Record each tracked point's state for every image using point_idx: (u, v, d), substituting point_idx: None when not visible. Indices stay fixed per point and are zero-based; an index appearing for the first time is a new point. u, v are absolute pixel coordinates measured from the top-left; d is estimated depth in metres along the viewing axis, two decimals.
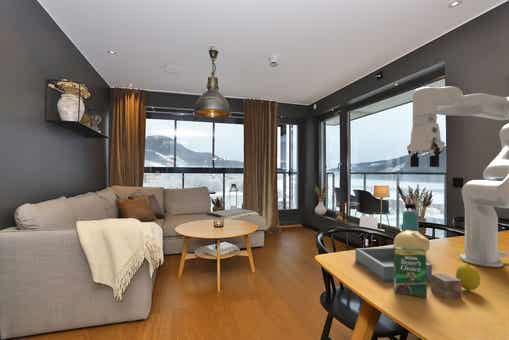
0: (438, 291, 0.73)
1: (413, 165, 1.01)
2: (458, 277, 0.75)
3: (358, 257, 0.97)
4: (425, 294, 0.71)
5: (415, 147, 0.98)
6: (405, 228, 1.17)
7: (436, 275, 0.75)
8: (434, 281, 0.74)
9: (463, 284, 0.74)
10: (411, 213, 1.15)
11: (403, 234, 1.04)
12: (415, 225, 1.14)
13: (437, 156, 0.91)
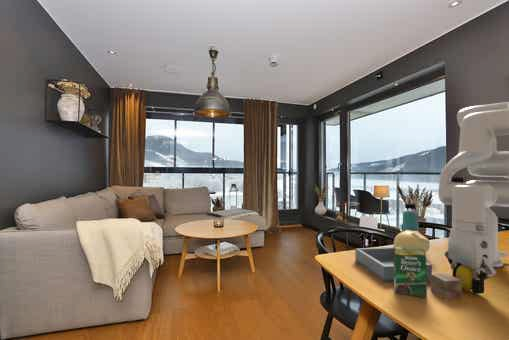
0: (438, 291, 0.73)
1: None
2: (458, 277, 0.75)
3: (358, 257, 0.97)
4: (425, 294, 0.71)
5: (456, 257, 0.77)
6: (405, 228, 1.17)
7: (436, 275, 0.75)
8: (434, 281, 0.74)
9: (463, 284, 0.74)
10: (411, 213, 1.15)
11: (403, 234, 1.04)
12: (415, 225, 1.14)
13: (482, 281, 0.71)
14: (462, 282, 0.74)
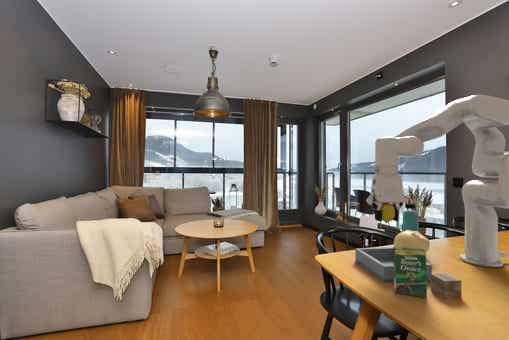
0: (438, 291, 0.73)
1: None
2: None
3: (358, 257, 0.97)
4: (425, 294, 0.71)
5: None
6: (405, 228, 1.17)
7: (436, 275, 0.75)
8: (434, 281, 0.74)
9: None
10: (411, 213, 1.15)
11: (403, 234, 1.04)
12: (415, 225, 1.14)
13: (376, 210, 0.93)
14: None
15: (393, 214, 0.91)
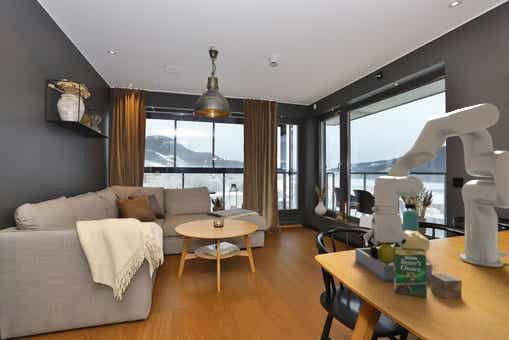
0: (438, 291, 0.73)
1: None
2: None
3: (358, 257, 0.97)
4: (425, 294, 0.71)
5: None
6: (405, 228, 1.17)
7: (436, 275, 0.75)
8: (434, 281, 0.74)
9: None
10: (411, 213, 1.15)
11: None
12: (415, 225, 1.14)
13: (372, 248, 0.93)
14: None
15: None
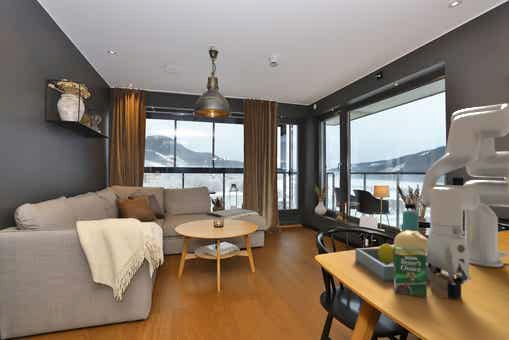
0: (438, 291, 0.73)
1: None
2: None
3: (358, 257, 0.97)
4: (425, 294, 0.71)
5: (434, 261, 0.75)
6: (405, 228, 1.17)
7: (436, 275, 0.75)
8: (434, 281, 0.74)
9: None
10: (411, 213, 1.15)
11: (403, 234, 1.04)
12: (415, 225, 1.14)
13: (458, 286, 0.70)
14: None
15: (393, 257, 0.91)
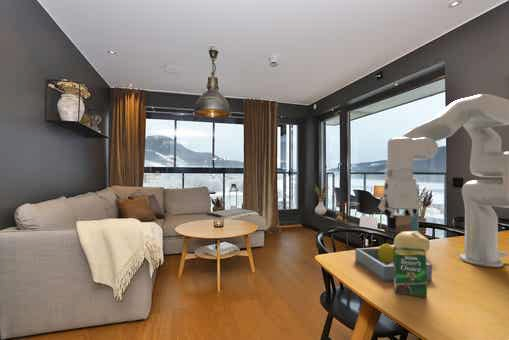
0: None
1: None
2: None
3: (358, 257, 0.97)
4: (425, 294, 0.71)
5: None
6: None
7: None
8: None
9: None
10: None
11: (403, 234, 1.04)
12: (415, 225, 1.14)
13: (389, 218, 0.85)
14: None
15: (393, 257, 0.91)
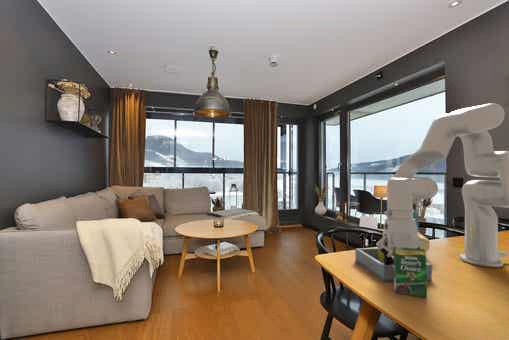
0: None
1: None
2: None
3: (358, 257, 0.97)
4: (425, 294, 0.71)
5: None
6: None
7: None
8: None
9: None
10: None
11: None
12: None
13: (386, 256, 0.85)
14: None
15: None
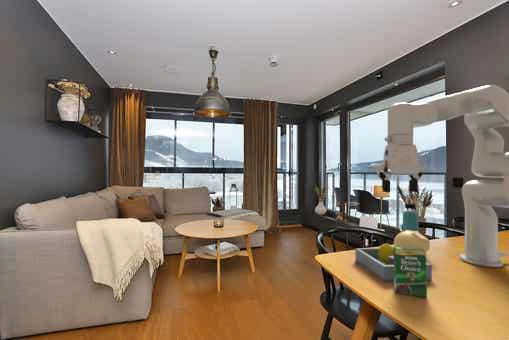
0: None
1: (410, 189, 0.87)
2: None
3: (358, 257, 0.97)
4: (425, 294, 0.71)
5: None
6: (405, 228, 1.17)
7: None
8: None
9: None
10: (411, 213, 1.15)
11: (403, 234, 1.04)
12: (415, 225, 1.14)
13: (384, 181, 0.85)
14: None
15: None
